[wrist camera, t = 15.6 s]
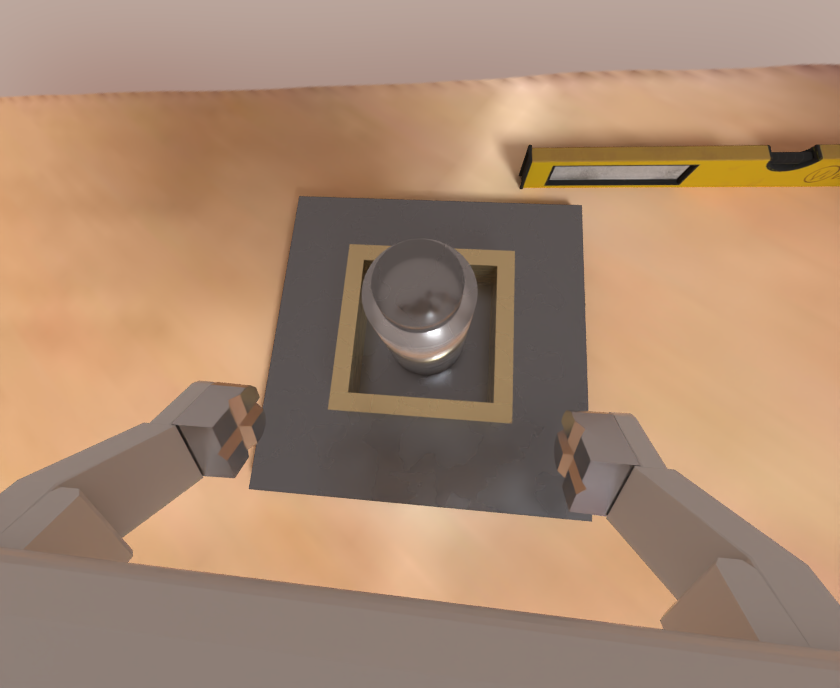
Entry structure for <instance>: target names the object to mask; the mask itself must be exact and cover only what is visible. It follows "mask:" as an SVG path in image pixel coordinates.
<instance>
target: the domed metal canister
mask: <svg viewBox="0 0 840 688" xmlns="http://www.w3.org/2000/svg"><path fill="white" fill-rule="evenodd" d="M477 295H478V290H477V282H476V278H475V274H474V272H473V270H472V268H471V266H470V264H469V263H468V261H467V260H466V259H465V258H464V257H463V255H461V254H460V253H459V252H458V251H457V250H455V249H454V248H452V247H451V246H449V245H447V244H445V243H442V242H439V241H436V240H431V239H411V240H406V241H402V242H399V243H397V244H395V245H393V246H391V247H389V248H387V249H386V250H385V251H383V252H382V253H381V254H380V255H379V256H378V257H377V258H376V259H375V260H374V261H373V262H372V264H371V265H370V267H369V268H368V270H367V273H366V275H365V278H364V281H363V285H362V304H363V308H364V311H365V314H366V316H367V318H368V320H369V322H370V323H371V325H372V326H373V328H374V329H375V331H376V332H377V333H378V335H379V336H380V338H381V339H382V340H383V342H384V343H385V345H386V346H387V348H388V349H389V350H390V352H391V353H392V355H393V356H394V357H395V359H396V360H397V362H398V363H399V364H400V365H401V366H403V367H404V368H405V369H407V370H409V371H411V372H413V373H416V374H421V375H431V374H436V373H439V372H442V371H444V370H446V369H447V368H449V367H450V366H451V365H452V364H453V363H454V362H455V361H456V360H457V359H458V357H459V355H460V353H461V351H462V348H463V345H464V342H465V339H466V335H467V332H468V329H469V326H470V323H471V320H472V316H473V313H474V310H475V307H476V303H477Z"/></svg>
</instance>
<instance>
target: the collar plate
mask: <svg viewBox="0 0 840 688" xmlns="http://www.w3.org/2000/svg"><path fill="white" fill-rule="evenodd" d="M411 239H431V240H436V241H439V242H442V243H445V244H447V245H449V246H451V247H452V248H454V249H455V250H457V251H458V252H459V253H460V254H461V255H463V257H464V258H465V259H466V260H467V261H468V263H469V264H470V266H471V268H472V270H473V272H474V274H475V278H476V282H477V290H478V295H477V303H476V307H475V310H474V313H473V316H472V320H471V323H470V326H469V329H468V332H467V335H466V339H465V342H464V345H463V348H462V351H461V353H460V355H459V357H458V359H457V360H456V361H455V362H454V363H453V364H452V365H451V366H450V367H449V368H447V369H446V370H444V371H442V372H439V373H436V374H431V375H421V374H416V373H413V372H411V371H409V370H407V369H405V368H404V367H403V366H401V365H400V364H399V363H398V362H397V360H396V359H395V357H394V356H393V355H392V353H391V352H390V350H389V349H388V348H387V346H386V345H385V343H384V342H383V340H382V339H381V338H380V336H379V335H378V333H377V332H376V331H375V329H374V328H373V326H372V325H371V323H370V322H369V320H368V318H367V316H366V314H365V311H364V308H363V304H362V285H363V281H364V278H365V275H366V273H367V270H368V268H369V267H370V265H371V264H372V262H373V261H374V260H375V259H376V258H377V257H378V256H379V255H380V254H381V253H382V252H383V251H385V250H386V249H387V248H389V247H391V246H393V245H395V244H397V243H399V242H402V241H406V240H411ZM263 409H264V413H265V416H266V425H265V429H264V432H263V435H262V437H261V438H260V440H259V442H258V443H257V444H256V450H255V456H254V461H253V467H252V473H251V479H250V485H249V489H254V490H264V491H275V492H286V493H296V494H307V495H317V496H328V497H338V498H349V499H360V500H370V501H381V502H391V503H402V504H412V505H423V506H434V507H444V508H455V509H465V510H476V511H486V512H497V513H507V514H518V515H529V516H539V517H550V518H560V519H571V520H581V521H592V515H591V514H583V513H575V512H569V509H568V506H567V503H566V499H565V496H564V492H563V489H562V485H563V482H564V479H565V478H564V477H563V476H562V475H561V474H560V473H559V472H558V471H557V468H556V464H555V458H554V443H555V439H556V435H557V433H559V432H560V431H561V430H563V429H564V428H563V425H562V422H561V420H562V417H563V414H564V413H565V411H566V410H578V411H588V385H587V354H586V323H585V292H584V260H583V229H582V205H554V204H523V203H492V202H461V201H430V200H399V199H368V198H337V197H306V196H299V201H298V207H297V213H296V219H295V224H294V230H293V236H292V242H291V247H290V253H289V259H288V265H287V271H286V276H285V282H284V288H283V294H282V300H281V305H280V311H279V317H278V323H277V328H276V334H275V340H274V346H273V352H272V357H271V363H270V369H269V375H268V380H267V386H266V392H265V398H264V404H263Z"/></svg>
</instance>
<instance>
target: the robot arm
mask: <svg viewBox="0 0 840 688" xmlns="http://www.w3.org/2000/svg"><path fill="white" fill-rule="evenodd" d="M258 399H259V394H258V392H257V389H256V387H253V386H251V385H241V384H231V383H221V382H208V381H197V382H194V383H192V384H191V385H190V386H189V387H188V388H187V389H186V390H185V391H184V392H182V393H181V394H180V395H179V396H178V397H177V398H176V399H175V400H174V401H173V402H172V403H171V404H170V405H169V406H167V407H166V408H165V409H164V410H163V411H162V412H161V413H160V414H159V415H158V416H157V417H156V418H155V419H154V420H152V421H151V422H150V423H142V424H140V425H138V426H136V427H133V428H131V429H129V430H127V431H125V432H122V433H120V434H118V435H116V436H114V437H111V438H109V439H107V440H105V441H103V442H100V443H98V444H96V445H94V446H92V447H89V448H87V449H85V450H83V451H81V452H78V453H76V454H74V455H72V456H70V457H67V458H65V459H63V460H61V461H59V462H56V463H54V464H52V465H50V466H48V467H45V468H43V469H41V470H39V471H37V472H34V473H32V474H30V475H28V476H26V477H23V478H21V479H19V480H17V481H16V482H14V483H13V484H12V485H11V486H9V487H8V488H7V489H6V490H4V491H3V492H2V493H0V688H840V605H839V604H838V602H837V601H836V600H835V599H834V597H833V596H832V595H831V594H830V592H829V591H828V590H827V589H826V587H825V586H824V585H823V584H822V582H821V581H820V580H819V578H818V577H817V576H816V575H815V573H814V572H813V571H812V570H811V568H810V567H809V566H808V565H807V564H805V563H804V562H803V561H801V560H800V559H798V558H797V557H796V556H794V555H793V554H791V553H790V552H789V551H787V550H786V549H784V548H783V547H782V546H780V545H779V544H778V543H776V542H775V541H773V540H772V539H771V538H769V537H768V536H766V535H765V534H764V533H762V532H761V531H759V530H758V529H757V528H755V527H754V526H752V525H751V524H750V523H748V522H747V521H745V520H744V519H743V518H741V517H740V516H738V515H737V514H736V513H734V512H733V511H731V510H730V509H729V508H727V507H726V506H725V505H723V504H722V503H720V502H719V501H718V500H716V499H715V498H713V497H712V496H711V495H709V494H708V493H706V492H705V491H704V490H702V489H701V488H699V487H698V486H697V485H695V484H694V483H692V482H691V481H690V480H688V479H687V478H685V477H684V476H683V475H681V474H680V473H678V472H677V471H676V470H672V469H667V467H666V466H665V464H664V462H663V461H662V459H661V458H660V456H659V454H658V453H657V451H656V450H655V448H654V446H653V445H652V443H651V442H650V440H649V438H648V437H647V435H646V433H645V432H644V430H643V429H642V427H641V425H640V424H639V422H638V421H637V419H636V417H635V416H633V415H632V414H628V413H611V412H609V413H606V412H592V411H578V410H566V411H565V413H564V414H563V417H562V420H561V422H562V425H563V428H564V429H563V430H561V431H560V432H559V433H557V435H556V439H555V443H554V458H555V464H556V468H557V471H558V472H559V473H560V474H561V475H562V476H563V477H564V478H565V479H564V482H563V485H562V489H563V492H564V496H565V499H566V503H567V506H568V509H569V512H575V513H583V514H591V515H599V516H607V520H608V521H609V522H610V523H611V524H612V525H613V527H614V528H615V529H616V530H617V531H618V532H619V533H620V535H621V536H622V537H623V538H624V539H625V540H626V541H627V543H628V544H629V545H630V546H631V547H632V548H633V549H634V551H635V552H636V553H637V554H638V555H639V556H640V558H641V559H642V560H643V561H644V562H645V563H646V564H647V566H648V567H649V568H650V569H651V570H652V571H653V572H654V574H655V575H656V576H657V577H658V578H659V579H660V580H661V582H662V583H663V584H664V585H665V586H666V587H667V589H668V590H669V591H670V592H671V593H672V594H673V595H674V597H675V598H676V599H677V601H676V602H675V603H674V604H673V605H672V606H671V607H670V608H669V609H668V610H667V612H666V613H665V614H664V615H663V617H662V618H661V620H660V621H661V624H662V626H663V629H657V628H649V627H641V626H633V625H625V624H617V623H609V622H601V621H593V620H585V619H577V618H569V617H561V616H553V615H545V614H537V613H529V612H521V611H513V610H505V609H497V608H489V607H481V606H473V605H465V604H457V603H449V602H441V601H433V600H425V599H417V598H409V597H401V596H393V595H385V594H377V593H369V592H361V591H353V590H345V589H337V588H328V587H320V586H312V585H304V584H296V583H288V582H280V581H272V580H264V579H256V578H248V577H240V576H232V575H224V574H216V573H208V572H200V571H192V570H184V569H176V568H168V567H160V566H152V565H144V564H136V563H128V562H129V560H130V559H131V558H132V556H133V551H132V549H131V548H130V547H129V545H128V544H127V543H126V542H125V541H124V540H123V539H122V537H124V536H125V535H127V534H128V533H129V532H131V531H132V530H133V529H135V528H136V527H137V526H139V525H140V524H141V523H143V522H144V521H145V520H147V519H148V518H149V517H151V516H152V515H153V514H155V513H156V512H158V511H159V510H160V509H162V508H163V507H164V506H166V505H167V504H168V503H170V502H171V501H172V500H174V499H175V498H176V497H178V496H179V495H180V494H182V493H183V492H184V491H186V490H187V489H189V488H190V487H191V486H193V485H194V484H195V483H197V482H198V481H199V480H201V479H202V478H203V476H211V477H225V478H235V477H236V476H237V474H238V473H239V471H240V469H241V468H242V466H243V465H244V463H245V462H246V460H247V459H248V457H249V455H248V449H249V448H251V447H252V446H254V445H256V444H257V443H258V442H259V440H260V438H261V437H262V435H263V432H264V429H265V425H266V416H265V413H264V409H263V408H261V407H260V406H259V405H258V404H257V403H256V402H257V400H258Z"/></svg>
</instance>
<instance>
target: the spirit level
mask: <svg viewBox="0 0 840 688" xmlns="http://www.w3.org/2000/svg"><path fill="white" fill-rule="evenodd" d="M519 176H521V177H522V182H521V185H520V189H523V188H589V187H822V186H840V144H833V145H815V146H814V147H812V148H810V149H808V150H805V151H803V152H771V147H770V146H769V145H744V146H655V147H566V148H532V145H529V146H528V149H527V152H526V155H525V158H524V161H523V164H522V167H521V170H520V173H519Z"/></svg>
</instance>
